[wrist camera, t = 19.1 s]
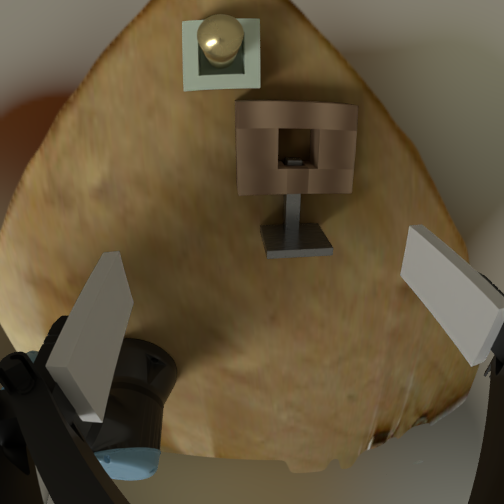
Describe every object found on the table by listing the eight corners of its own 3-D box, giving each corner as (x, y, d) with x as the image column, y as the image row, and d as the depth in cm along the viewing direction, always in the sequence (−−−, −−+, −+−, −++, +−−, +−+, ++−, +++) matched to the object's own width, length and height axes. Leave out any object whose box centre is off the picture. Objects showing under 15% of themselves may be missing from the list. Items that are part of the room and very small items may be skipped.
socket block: (236, 185, 41) (238, 195, 38) (234, 100, 36) (236, 101, 32) (341, 183, 42) (351, 193, 39) (346, 103, 37) (358, 105, 33)
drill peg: (207, 69, 33) (197, 56, 19) (207, 44, 31) (196, 15, 17) (235, 68, 33) (244, 54, 19) (235, 43, 31) (243, 13, 17)
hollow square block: (188, 90, 35) (183, 91, 30) (187, 29, 31) (182, 21, 26) (255, 87, 35) (260, 88, 31) (255, 26, 31) (259, 18, 27)
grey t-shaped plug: (260, 231, 44) (267, 258, 38) (260, 157, 39) (268, 172, 33) (317, 229, 45) (332, 255, 39) (322, 157, 40) (341, 172, 34)
